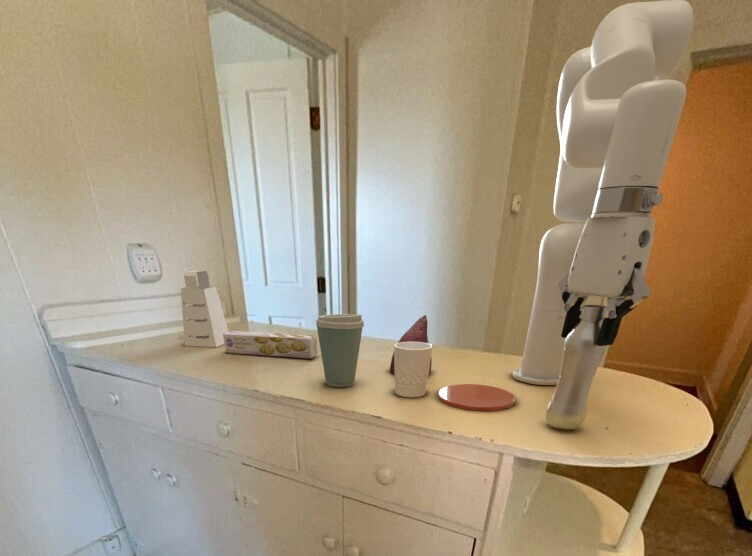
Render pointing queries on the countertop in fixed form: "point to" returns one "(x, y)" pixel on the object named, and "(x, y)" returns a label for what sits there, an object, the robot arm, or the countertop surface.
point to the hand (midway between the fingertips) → (586, 339)
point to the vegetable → (414, 337)
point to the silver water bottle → (577, 370)
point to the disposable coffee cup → (340, 347)
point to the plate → (476, 397)
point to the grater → (202, 312)
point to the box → (271, 344)
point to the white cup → (411, 368)
